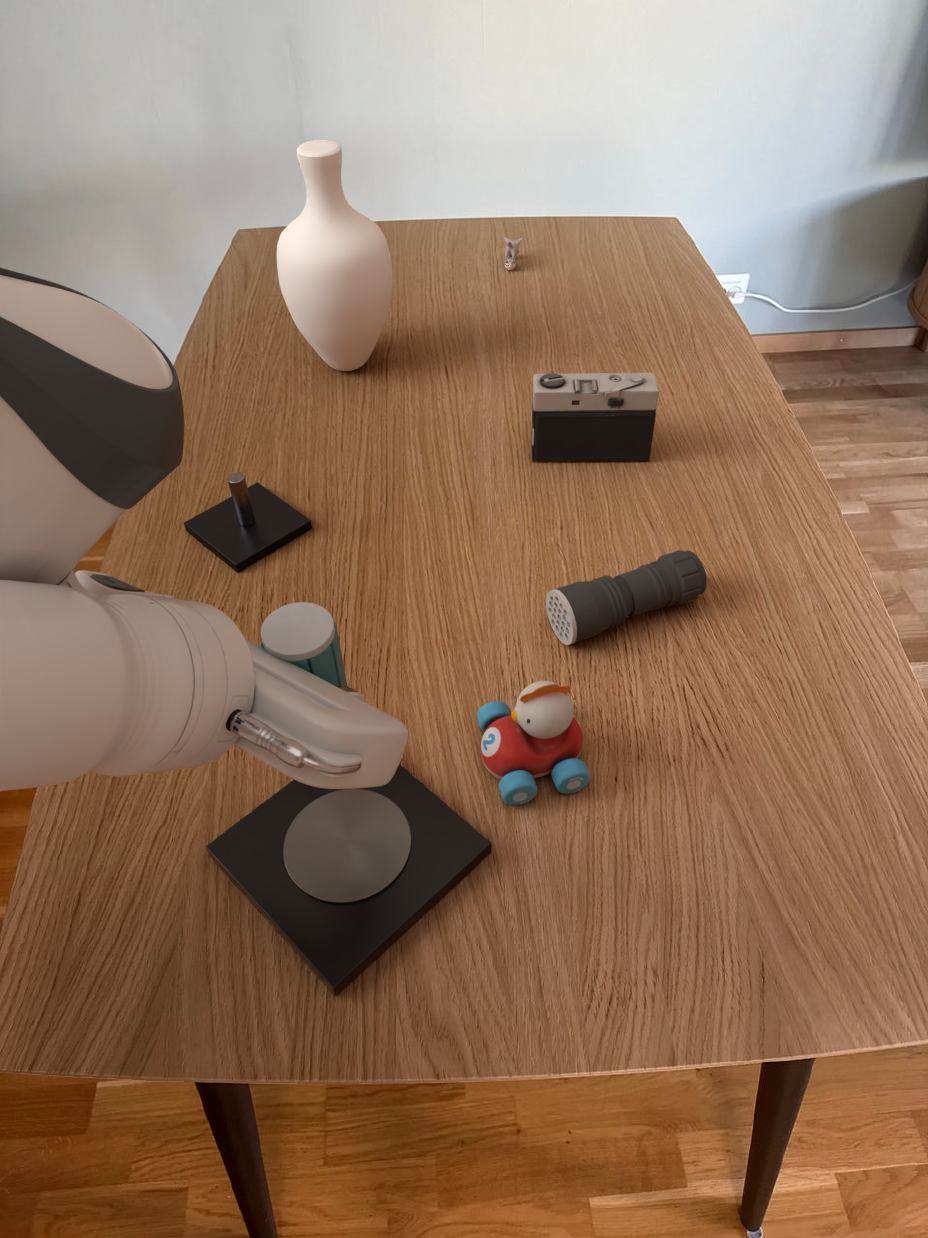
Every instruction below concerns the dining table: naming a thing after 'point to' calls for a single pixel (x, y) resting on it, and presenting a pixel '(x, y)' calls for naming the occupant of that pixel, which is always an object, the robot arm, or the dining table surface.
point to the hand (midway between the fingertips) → (317, 683)
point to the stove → (348, 867)
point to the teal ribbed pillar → (305, 640)
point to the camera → (593, 416)
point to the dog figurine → (511, 252)
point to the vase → (334, 265)
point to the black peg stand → (247, 524)
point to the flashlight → (624, 596)
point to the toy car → (533, 742)
